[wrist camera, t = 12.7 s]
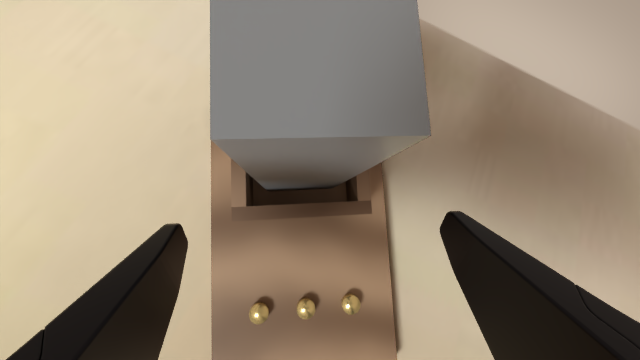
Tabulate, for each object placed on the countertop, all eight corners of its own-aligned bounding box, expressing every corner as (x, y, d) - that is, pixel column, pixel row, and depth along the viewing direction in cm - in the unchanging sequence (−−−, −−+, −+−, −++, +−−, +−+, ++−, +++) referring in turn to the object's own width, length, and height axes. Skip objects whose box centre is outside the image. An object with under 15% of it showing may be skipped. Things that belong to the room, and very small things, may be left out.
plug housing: (332, 188, 18) (430, 135, 5) (267, 191, 18) (209, 139, 5) (328, 127, 19) (411, -53, 6) (265, 127, 18) (209, -68, 5)
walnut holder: (391, 359, 18) (419, 400, 14) (216, 382, 17) (194, 433, 13) (372, 103, 21) (391, 78, 17) (215, 104, 19) (195, 75, 15)
